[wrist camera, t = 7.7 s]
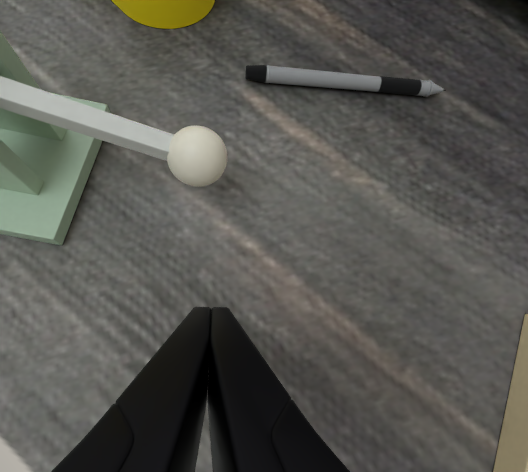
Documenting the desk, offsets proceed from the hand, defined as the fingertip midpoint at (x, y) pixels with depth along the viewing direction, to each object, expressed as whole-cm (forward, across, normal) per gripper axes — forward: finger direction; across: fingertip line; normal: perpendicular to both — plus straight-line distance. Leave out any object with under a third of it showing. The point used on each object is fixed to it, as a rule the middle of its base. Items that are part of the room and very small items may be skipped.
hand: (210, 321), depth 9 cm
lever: (+13, +7, -2) cm, 15 cm away
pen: (+23, -10, -6) cm, 25 cm away
